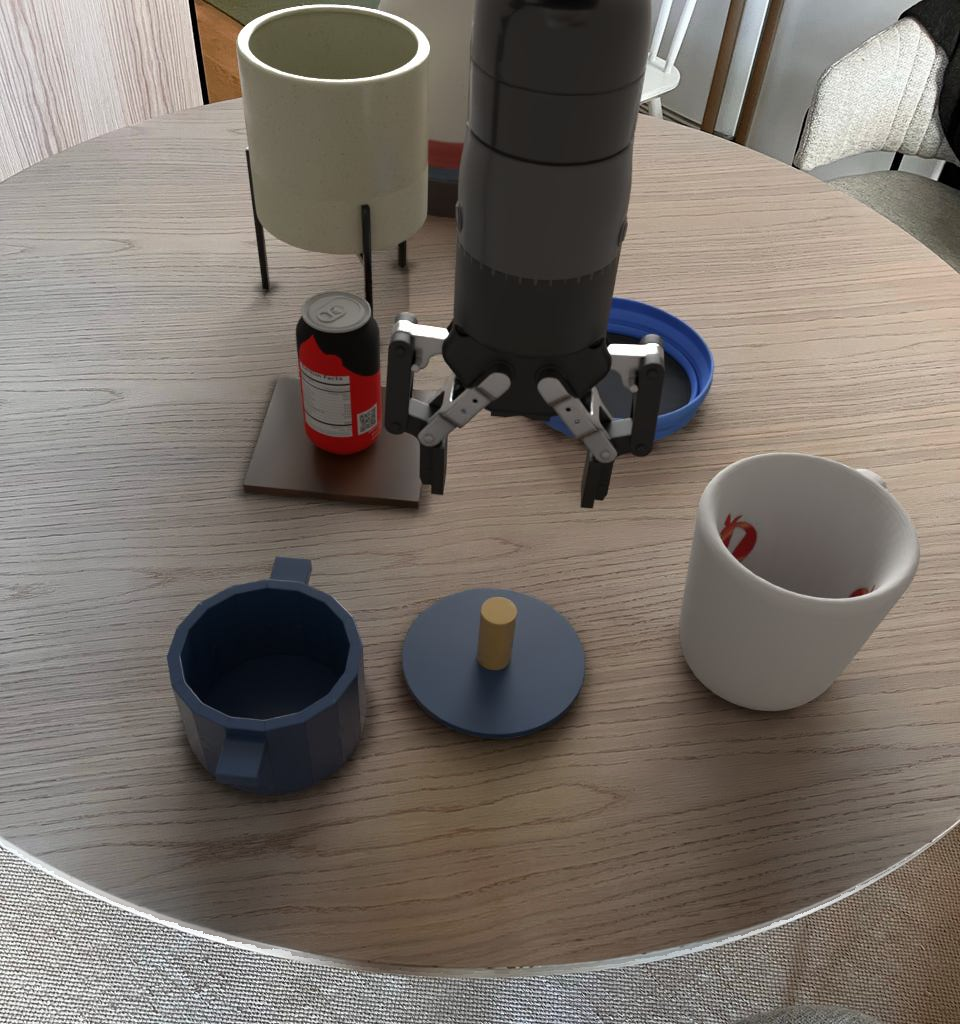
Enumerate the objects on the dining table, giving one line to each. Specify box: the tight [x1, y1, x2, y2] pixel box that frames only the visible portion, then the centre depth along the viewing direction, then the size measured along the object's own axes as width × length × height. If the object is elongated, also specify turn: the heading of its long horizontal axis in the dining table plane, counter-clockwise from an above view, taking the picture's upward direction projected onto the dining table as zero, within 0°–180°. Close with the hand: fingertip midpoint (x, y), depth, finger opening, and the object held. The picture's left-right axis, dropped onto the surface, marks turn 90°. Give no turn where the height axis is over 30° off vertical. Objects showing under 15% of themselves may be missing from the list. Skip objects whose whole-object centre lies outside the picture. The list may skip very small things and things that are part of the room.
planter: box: [235, 4, 430, 317], centre depth 89 cm, size 15×16×23 cm
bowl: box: [541, 296, 715, 442], centre depth 91 cm, size 18×18×4 cm
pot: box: [166, 555, 367, 795], centre depth 65 cm, size 12×17×7 cm
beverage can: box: [294, 290, 382, 455], centre depth 80 cm, size 6×6×12 cm
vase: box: [376, 0, 475, 219], centre depth 103 cm, size 17×17×24 cm
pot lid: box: [401, 587, 587, 740], centre depth 69 cm, size 13×13×6 cm
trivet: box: [242, 375, 438, 510], centre depth 85 cm, size 14×14×1 cm
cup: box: [678, 451, 921, 712], centre depth 69 cm, size 18×14×14 cm
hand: (512, 491), depth 58 cm, fingers open, 8 cm apart
